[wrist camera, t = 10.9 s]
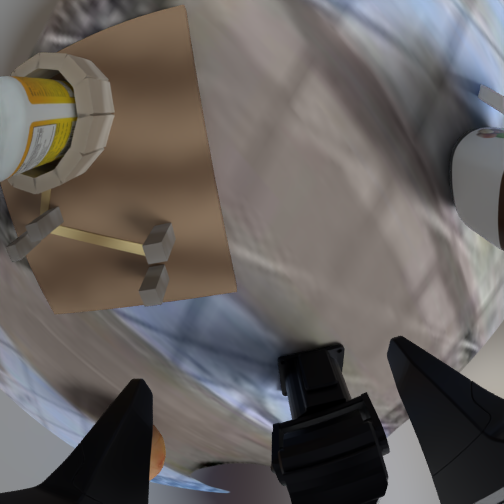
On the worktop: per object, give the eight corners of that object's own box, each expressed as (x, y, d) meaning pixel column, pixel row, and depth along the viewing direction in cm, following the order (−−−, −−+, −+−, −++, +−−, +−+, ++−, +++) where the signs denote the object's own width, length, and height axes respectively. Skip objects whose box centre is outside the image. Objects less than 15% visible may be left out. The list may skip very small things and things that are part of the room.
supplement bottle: (95, 150, 15) (-8, 192, 7) (35, 164, 15) (-62, 212, 6) (90, 71, 13) (-15, 55, 4) (29, 93, 12) (-73, 105, 4)
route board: (236, 284, 22) (238, 318, 18) (59, 307, 22) (41, 335, 18) (186, 9, 12) (175, -15, 9) (-7, 99, 12) (-39, 104, 9)
